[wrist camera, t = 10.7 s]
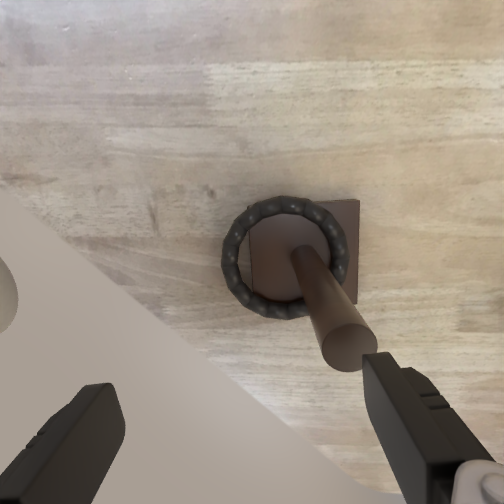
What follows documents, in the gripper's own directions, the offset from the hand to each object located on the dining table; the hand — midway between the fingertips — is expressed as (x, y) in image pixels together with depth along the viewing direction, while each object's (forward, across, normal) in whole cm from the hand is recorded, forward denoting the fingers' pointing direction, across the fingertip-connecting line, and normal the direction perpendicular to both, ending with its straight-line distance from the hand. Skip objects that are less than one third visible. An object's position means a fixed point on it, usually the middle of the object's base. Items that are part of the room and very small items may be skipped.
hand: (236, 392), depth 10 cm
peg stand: (+15, -4, 0) cm, 15 cm away
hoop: (+13, -2, 0) cm, 13 cm away
